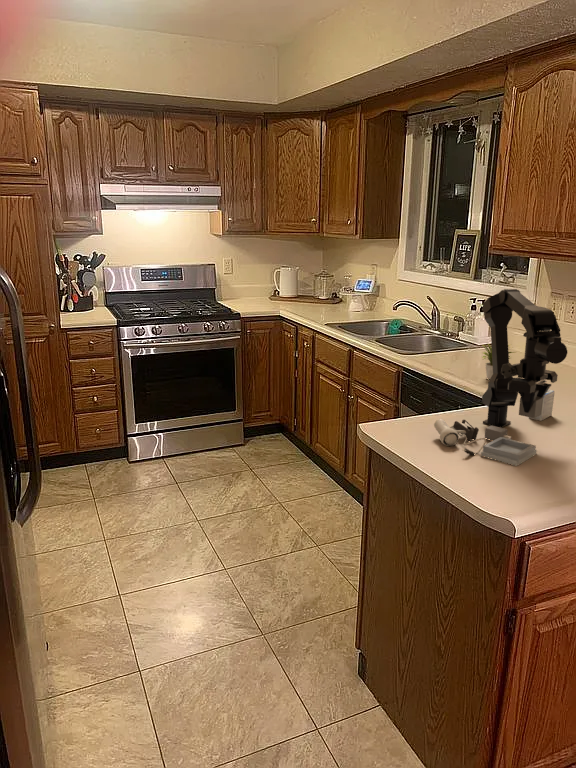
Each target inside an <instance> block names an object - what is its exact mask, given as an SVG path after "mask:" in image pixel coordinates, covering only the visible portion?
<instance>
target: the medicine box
mask: <svg viewBox="0 0 576 768" xmlns="http://www.w3.org/2000/svg"><path fill="white" fill-rule="evenodd" d="M554 399H555V390H552V389H550V388H549V389H548V391H547V392H546V394H545V395H544V397H543V404H542V414H541V415H540V416H538V417H536V418H531V417H528V419H531V420H536V421H541V422H542V421H543V420H545V419H547V418H550V416H552V413H553V409H554V408H553V407H554V401H555V400H554Z"/></svg>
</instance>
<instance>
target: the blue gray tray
mask: <svg viewBox="0 0 576 768" xmlns="http://www.w3.org/2000/svg"><path fill="white" fill-rule="evenodd" d="M482 446H483V445H482ZM536 447H537V445H535V444H531V443H526V442H523V441H518V440H514V439H512V438H511V439H507V438H503V437H499V438H498V439H496V440H494V441H490V442H488V443H485V445H484V446H483V448H482V450H481V451H480V457H482V456H485V457H489V458H492V459H491V460H493V459H496V460H499V461H498V462H500V461H502V462H501V463H503V462H505V463H504V464H507V463H508V465H510V464H512V465H511V466H514V465H515V467H518V466H520V465H521V464H522V462H523V463H524V462H526V461H528V460H529V459H531V458H533V456H535V455H537V452H538V450H537V449H536ZM485 457H484V458H485ZM489 458H488V459H489ZM496 460H495V461H496ZM517 465H518V466H517Z"/></svg>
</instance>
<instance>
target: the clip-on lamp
mask: <svg viewBox="0 0 576 768" xmlns="http://www.w3.org/2000/svg"><path fill="white" fill-rule="evenodd" d="M433 427H434V428H435V430H436V431H437V433H438V434H439V440H440V442H441V444H443V445H444V446H446V447H451V446H454V445H456V444H457V442H459V436H460V437H465V440H464V442H463V445H464V446H467V445H469V444H473V443H475V442H477V441H478V442H479V441H481V440H484V442H483V445H482V446H481V448H480V449H478V450H477V451H476V452H474V451H472V450H469V449H467V448H464V449H462V451H463V452H464V453H466V454H467V455H470V456H475V455H476V454H475V453H477V454H479V453H481V452H482V451H483V446H484V445H486V444H487V440H486V439H485V437H480V438H477V436H478V433H479V431H480V430H479V427H477V426H475V427H474V426H472V424H470V423H469V422H468V421H467V420H466V419H462V421H461V422H460V421H457V420H455V421H454V422H453V424H452V425H451V426H450V425H449V424H448V423H447V422H446V421H445V419H443V418H438V419H437V420H435V421H434V424H433ZM472 439H474V440H472ZM467 440H468V441H471V442H468V441H467ZM474 454H475V455H474Z"/></svg>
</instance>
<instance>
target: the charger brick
mask: <svg viewBox="0 0 576 768" xmlns="http://www.w3.org/2000/svg"><path fill="white" fill-rule="evenodd" d="M542 404H543V397H537V396H536V398H535V400H534V402H533V405H532V407H531V409H530V411H529V412H528V413H526V412H524V408H523V404H522V400H521V397H520V398H519V405H518V406H519V409H518V416H522V417H527V418H529V417H531V418H536V417H538V416H540V415H541V414H542ZM531 418H530V419H531Z"/></svg>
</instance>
